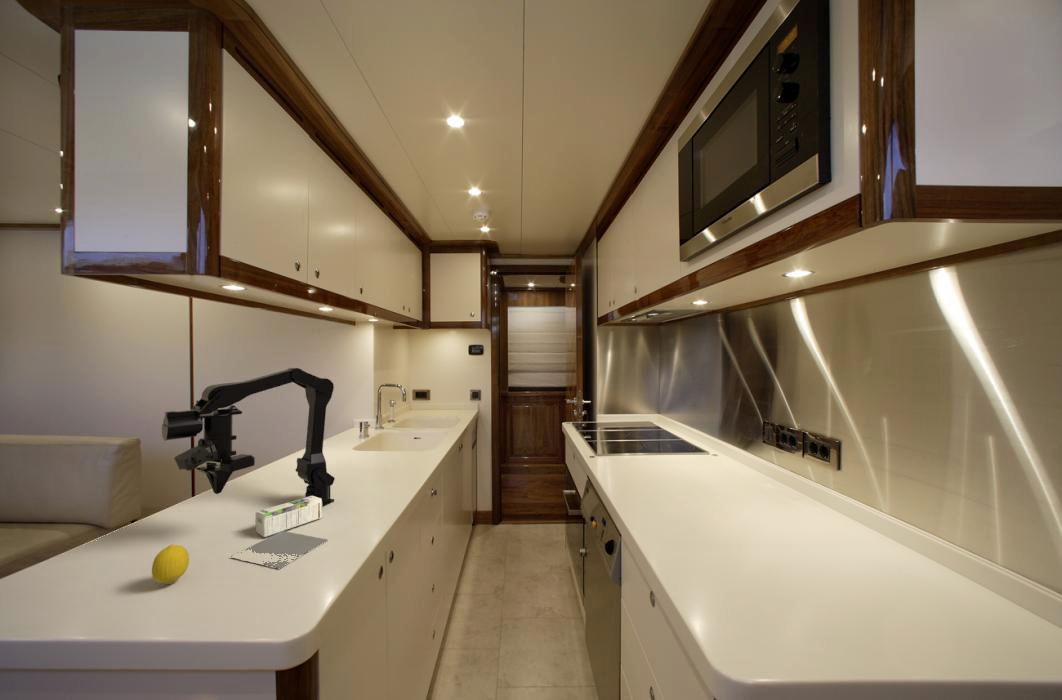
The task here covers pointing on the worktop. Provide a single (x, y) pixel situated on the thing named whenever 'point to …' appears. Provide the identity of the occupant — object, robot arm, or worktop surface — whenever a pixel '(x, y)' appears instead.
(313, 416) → the robot arm
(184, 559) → the lemon
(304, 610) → the worktop surface
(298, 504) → the syrup box
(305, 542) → the mat
